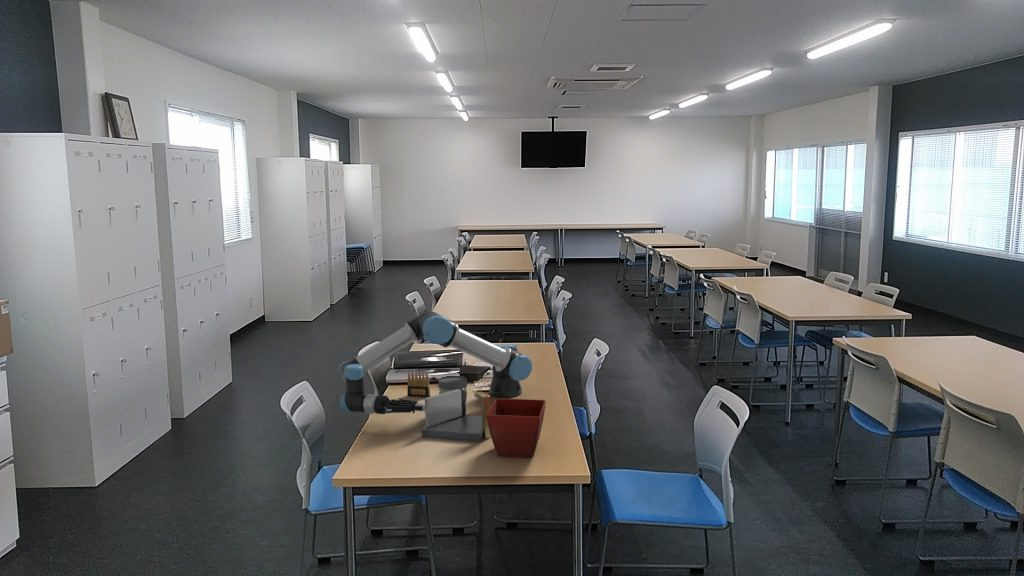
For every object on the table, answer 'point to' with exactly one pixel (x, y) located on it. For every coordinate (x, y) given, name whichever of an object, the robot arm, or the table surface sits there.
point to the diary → (469, 372)
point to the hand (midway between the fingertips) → (431, 408)
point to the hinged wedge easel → (445, 406)
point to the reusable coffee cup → (452, 383)
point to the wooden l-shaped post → (484, 412)
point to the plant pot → (516, 426)
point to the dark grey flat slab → (457, 429)
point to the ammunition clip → (418, 385)
